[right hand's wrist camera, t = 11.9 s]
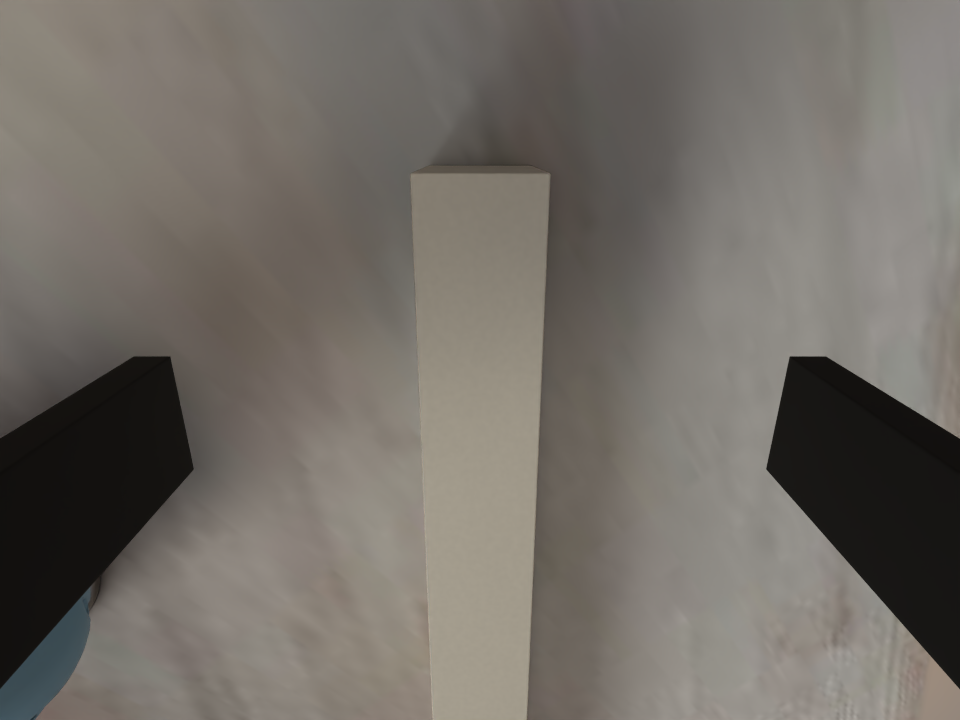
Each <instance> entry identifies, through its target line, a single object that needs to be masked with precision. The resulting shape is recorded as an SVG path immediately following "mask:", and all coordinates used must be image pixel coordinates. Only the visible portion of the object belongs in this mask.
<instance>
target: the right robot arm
mask: <svg viewBox="0 0 960 720" xmlns="http://www.w3.org/2000/svg"><path fill="white" fill-rule="evenodd" d="M193 469H194V468H193V463H192V459H191V454H190V449H189V444H188V439H187V435H186V430H185V425H184V420H183V416H182V411H181V406H180V401H179V396H178V392H177V387H176V382H175V377H174V373H173V368H172V363H171V358H170V357H133V358H131V359H129V360H128V361H126V362H124V363H123V364H121V365H120V366H118V367H116V368H115V369H113V370H111V371H110V372H108V373H107V374H105V375H103V376H102V377H100V378H98V379H97V380H95V381H93V382H92V383H90V384H89V385H87V386H85V387H84V388H82V389H80V390H79V391H77V392H76V393H74V394H72V395H71V396H69V397H67V398H66V399H64V400H63V401H61V402H59V403H58V404H56V405H54V406H53V407H51V408H50V409H48V410H46V411H45V412H43V413H41V414H40V415H38V416H37V417H35V418H33V419H32V420H30V421H28V422H27V423H25V424H24V425H22V426H20V427H19V428H17V429H15V430H14V431H12V432H11V433H9V434H7V435H6V436H4V437H2V438H1V439H0V689H1V688H2V686H3V685H4V684H5V683H6V682H7V681H8V680H9V678H10V677H11V676H12V675H13V674H14V673H15V672H16V671H17V669H18V668H19V667H20V666H21V665H22V664H23V663H24V661H25V660H26V659H27V658H28V657H29V656H30V655H31V653H32V652H33V651H34V650H35V649H36V648H37V647H38V646H39V644H40V643H41V642H42V641H43V640H44V639H45V638H46V636H47V635H48V634H49V633H50V632H51V631H52V630H53V628H54V627H55V626H56V625H57V624H58V623H59V622H60V621H61V619H62V618H63V617H64V616H65V615H66V614H67V613H68V611H69V610H70V609H71V608H72V607H73V606H74V605H75V603H76V602H77V601H78V600H79V599H80V598H81V597H82V596H83V594H84V593H85V592H86V591H87V590H88V589H89V588H90V586H91V585H92V584H93V583H94V582H95V581H96V580H97V579H98V577H99V576H100V575H101V574H102V573H103V572H104V571H105V569H106V568H107V567H108V566H109V565H110V564H111V563H112V561H113V560H114V559H115V558H116V557H117V556H118V555H119V554H120V552H121V551H122V550H123V549H124V548H125V547H126V546H127V544H128V543H129V542H130V541H131V540H132V539H133V538H134V536H135V535H136V534H137V533H138V532H139V531H140V530H141V529H142V527H143V526H144V525H145V524H146V523H147V522H148V521H149V519H150V518H151V517H152V516H153V515H154V514H155V513H156V511H157V510H158V509H159V508H160V507H161V506H162V505H163V504H164V502H165V501H166V500H167V499H168V498H169V497H170V496H171V494H172V493H173V492H174V491H175V490H176V489H177V488H178V486H179V485H180V484H181V483H182V482H183V481H184V480H185V479H186V477H187V476H188V475H189V474H190V473H191V472H192V471H193ZM766 469H767V471H768V472H769V473H770V474H771V475H772V476H773V477H774V479H775V480H776V481H777V482H778V483H779V484H780V485H781V486H782V488H783V489H784V490H785V491H786V492H787V493H788V494H789V496H790V497H791V498H792V499H793V500H794V501H795V502H796V504H797V505H798V506H799V507H800V508H801V509H802V510H803V511H804V513H805V514H806V515H807V516H808V517H809V518H810V519H811V521H812V522H813V523H814V524H815V525H816V526H817V527H818V529H819V530H820V531H821V532H822V533H823V534H824V535H825V536H826V538H827V539H828V540H829V541H830V542H831V543H832V544H833V546H834V547H835V548H836V549H837V550H838V551H839V552H840V554H841V555H842V556H843V557H844V558H845V559H846V560H847V561H848V563H849V564H850V565H851V566H852V567H853V568H854V569H855V571H856V572H857V573H858V574H859V575H860V576H861V577H862V579H863V580H864V581H865V582H866V583H867V584H868V585H869V586H870V588H871V589H872V590H873V591H874V592H875V593H876V594H877V596H878V597H879V598H880V599H881V600H882V601H883V602H884V603H885V605H886V606H887V607H888V608H889V609H890V610H891V611H892V613H893V614H894V615H895V616H896V617H897V618H898V619H899V621H900V622H901V623H902V624H903V625H904V626H905V627H906V628H907V630H908V631H909V632H910V633H911V634H912V635H913V636H914V638H915V639H916V640H917V641H918V642H919V643H920V644H921V646H922V647H923V648H924V649H925V650H926V651H927V652H928V653H929V655H930V656H931V657H932V658H933V659H934V660H935V661H936V663H937V664H938V665H939V666H940V667H941V668H942V669H943V671H944V672H945V673H946V674H947V675H948V676H949V677H950V678H951V680H952V681H953V682H954V683H955V684H956V685H957V686H958V688H959V689H960V439H959V438H958V437H956V436H954V435H953V434H951V433H949V432H948V431H946V430H945V429H943V428H941V427H940V426H938V425H936V424H935V423H933V422H932V421H930V420H928V419H927V418H925V417H923V416H922V415H920V414H919V413H917V412H915V411H914V410H912V409H910V408H909V407H907V406H906V405H904V404H902V403H901V402H899V401H897V400H896V399H894V398H893V397H891V396H889V395H888V394H886V393H884V392H883V391H881V390H880V389H878V388H876V387H875V386H873V385H871V384H870V383H868V382H867V381H865V380H863V379H862V378H860V377H858V376H857V375H855V374H853V373H852V372H850V371H849V370H847V369H845V368H844V367H842V366H840V365H839V364H837V363H836V362H834V361H832V360H831V359H829V358H827V357H790V358H789V363H788V368H787V373H786V377H785V382H784V387H783V392H782V396H781V401H780V406H779V411H778V416H777V420H776V425H775V430H774V435H773V439H772V444H771V449H770V454H769V459H768V463H767V468H766Z"/></svg>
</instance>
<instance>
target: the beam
mask: <svg viewBox="0 0 960 720" xmlns="http://www.w3.org/2000/svg"><path fill="white" fill-rule="evenodd" d="M550 176H551V175H550V173H548V172H546V171H543V170H541V169H538V168H536V167H533V166H427V167H424V168H422V169H420V170H417V171H415V172H412V173H410V184H411V208H412V233H413V257H414V281H415V305H416V330H417V354H418V378H419V402H420V427H421V451H422V475H423V499H424V524H425V548H426V572H427V596H428V620H429V645H430V669H431V693H432V717H433V720H527V712H528V689H529V666H530V642H531V619H532V596H533V572H534V549H535V526H536V502H537V479H538V456H539V432H540V409H541V386H542V362H543V339H544V316H545V292H546V269H547V246H548V222H549V199H550Z"/></svg>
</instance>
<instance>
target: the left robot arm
mask: <svg viewBox="0 0 960 720" xmlns="http://www.w3.org/2000/svg"><path fill="white" fill-rule="evenodd" d="M99 586H100V576H99V577H98V579H97V580H96V581H95V582H94V583H93V584H92V585H91V586H90V588H89V589H88V590H87V591H86V592H85V593H84V594H83V596H82V597H81V598H80V599H79V600H78V601H77V602H76V603H75V605H74V606H73V607H72V608H71V609H70V610H69V611H68V613H67V614H66V615H65V616H64V617H63V618H62V619H61V621H60V622H59V623H58V624H57V625H56V626H55V627H54V628H53V630H52V631H51V632H50V633H49V634H48V635H47V636H46V638H45V639H44V640H43V641H42V642H41V643H40V644H39V646H38V647H37V648H36V649H35V650H34V651H33V652H32V653H31V655H30V656H29V657H28V658H27V659H26V660H25V661H24V663H23V664H22V665H21V666H20V667H19V668H18V669H17V671H16V672H15V673H14V674H13V675H12V676H11V677H10V678H9V680H8V681H7V682H6V683H5V684H4V685H3V686H2V688H1V689H0V720H35V719H36V718H37V716H38V715H39V714H40V713H41V711H42V710H43V708H44V707H45V706H46V705H47V704H48V703H49V702H50V701H51V700H52V699H53V698H54V697H55V696H56V695H57V694H58V692H59V691H60V690H61V689H62V687H63V686H64V685H65V684H66V682H67V681H68V679H69V678H70V676H71V674H72V673H73V671H74V670H75V668H76V666H77V664H78V662H79V660H80V658H81V655H82V653H83V651H84V648H85V645H86V642H87V638H88V634H89V630H90V617H89V610H90V609H91V607H92V606H93V604H94V602H95V600H96V598H97V595H98V592H99Z"/></svg>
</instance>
